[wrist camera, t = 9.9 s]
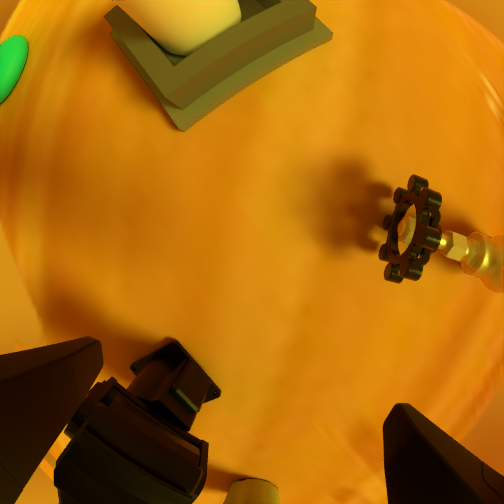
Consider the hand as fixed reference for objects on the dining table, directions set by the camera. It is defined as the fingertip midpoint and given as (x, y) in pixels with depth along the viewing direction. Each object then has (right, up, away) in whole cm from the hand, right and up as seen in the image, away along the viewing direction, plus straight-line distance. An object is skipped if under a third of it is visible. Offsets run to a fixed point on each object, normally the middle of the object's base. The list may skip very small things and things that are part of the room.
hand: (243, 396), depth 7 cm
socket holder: (-3, +21, +9) cm, 23 cm away
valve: (+15, +5, +11) cm, 19 cm away
